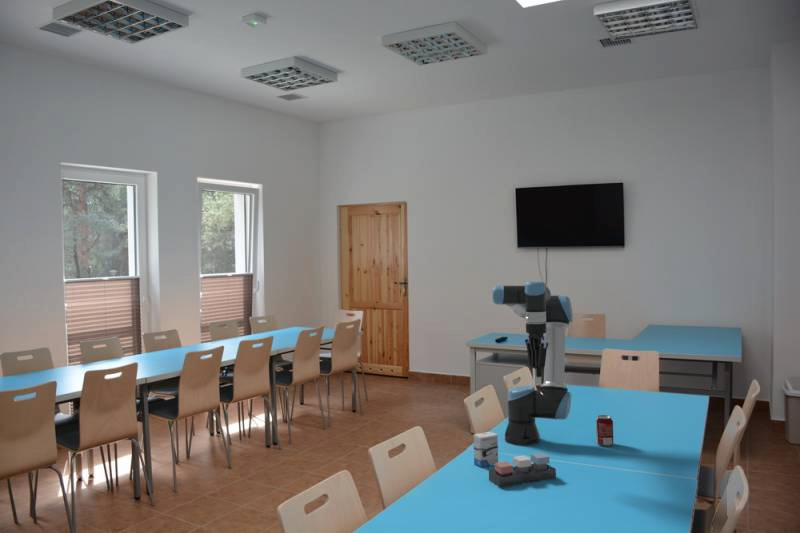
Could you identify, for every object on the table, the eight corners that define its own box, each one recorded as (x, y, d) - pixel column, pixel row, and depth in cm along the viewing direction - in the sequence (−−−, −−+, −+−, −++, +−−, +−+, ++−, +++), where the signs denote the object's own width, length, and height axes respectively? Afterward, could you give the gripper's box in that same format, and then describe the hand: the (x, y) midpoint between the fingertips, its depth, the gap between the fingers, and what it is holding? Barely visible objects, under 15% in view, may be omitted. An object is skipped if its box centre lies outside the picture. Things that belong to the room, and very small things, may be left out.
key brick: (501, 482, 219) (500, 467, 219) (494, 477, 224) (494, 463, 223) (513, 480, 220) (512, 465, 220) (506, 476, 225) (506, 461, 225)
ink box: (481, 468, 237) (480, 437, 237) (473, 464, 242) (472, 434, 242) (499, 464, 241) (498, 434, 241) (491, 460, 246) (490, 430, 245)
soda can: (614, 447, 257) (613, 418, 257) (597, 446, 259) (597, 418, 258) (612, 442, 264) (611, 414, 264) (595, 441, 265) (595, 414, 265)
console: (499, 487, 217) (499, 478, 217) (489, 480, 225) (488, 470, 224) (555, 478, 224) (555, 469, 224) (544, 471, 232) (543, 462, 232)
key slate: (538, 473, 224) (537, 458, 224) (531, 468, 228) (530, 454, 228) (549, 471, 225) (549, 456, 225) (542, 467, 230) (542, 452, 230)
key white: (519, 476, 221) (519, 461, 221) (513, 471, 226) (512, 457, 226) (531, 474, 223) (531, 459, 223) (524, 469, 227) (524, 455, 227)
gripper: (518, 321, 237) (519, 382, 238) (536, 325, 225) (537, 389, 225) (535, 320, 239) (536, 380, 240) (554, 323, 227) (555, 387, 228)
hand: (537, 384), depth 233 cm, fingers closed
